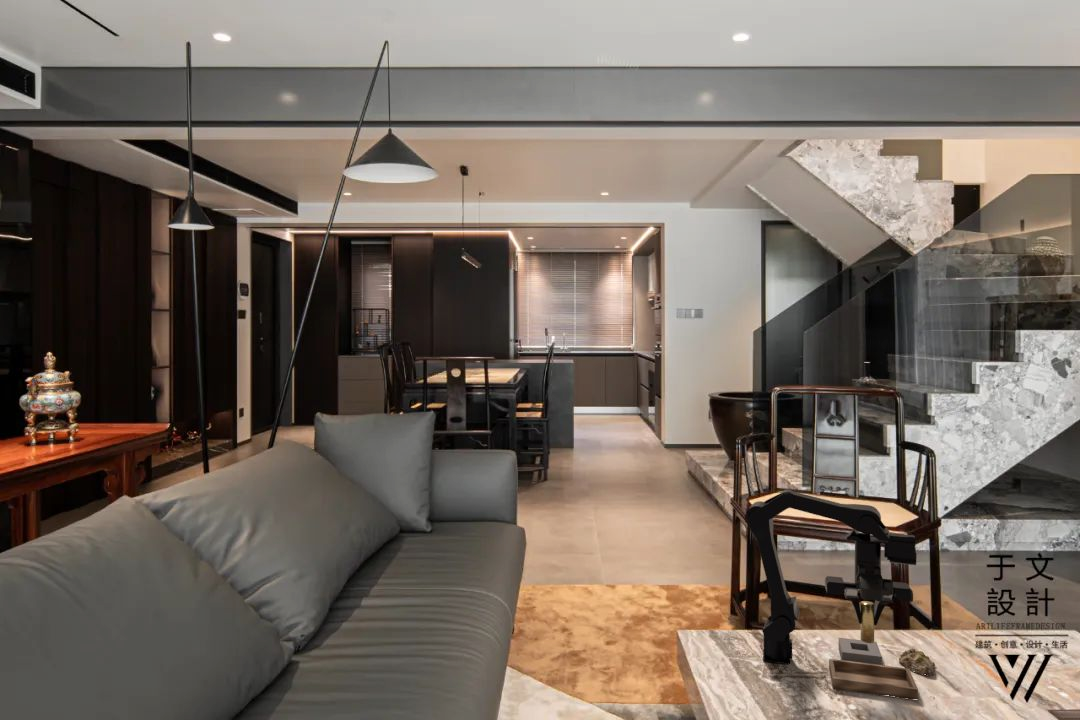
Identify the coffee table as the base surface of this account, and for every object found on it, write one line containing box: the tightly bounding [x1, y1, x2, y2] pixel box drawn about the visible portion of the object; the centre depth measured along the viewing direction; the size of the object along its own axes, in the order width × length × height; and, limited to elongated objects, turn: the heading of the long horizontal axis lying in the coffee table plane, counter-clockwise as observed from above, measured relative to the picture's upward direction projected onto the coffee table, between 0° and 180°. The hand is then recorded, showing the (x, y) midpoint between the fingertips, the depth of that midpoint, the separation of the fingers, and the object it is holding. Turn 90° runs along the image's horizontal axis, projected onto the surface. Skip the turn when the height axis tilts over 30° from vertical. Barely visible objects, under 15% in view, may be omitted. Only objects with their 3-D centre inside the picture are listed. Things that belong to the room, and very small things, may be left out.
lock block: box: [838, 637, 883, 665], centre depth 176 cm, size 9×9×3 cm
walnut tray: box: [828, 658, 919, 700], centre depth 162 cm, size 18×11×2 cm, turn 72°
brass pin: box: [860, 600, 875, 643], centre depth 167 cm, size 3×3×9 cm
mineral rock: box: [898, 648, 936, 677], centre depth 171 cm, size 11×4×8 cm
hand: (867, 623), depth 167 cm, fingers closed on brass pin, 3 cm apart
